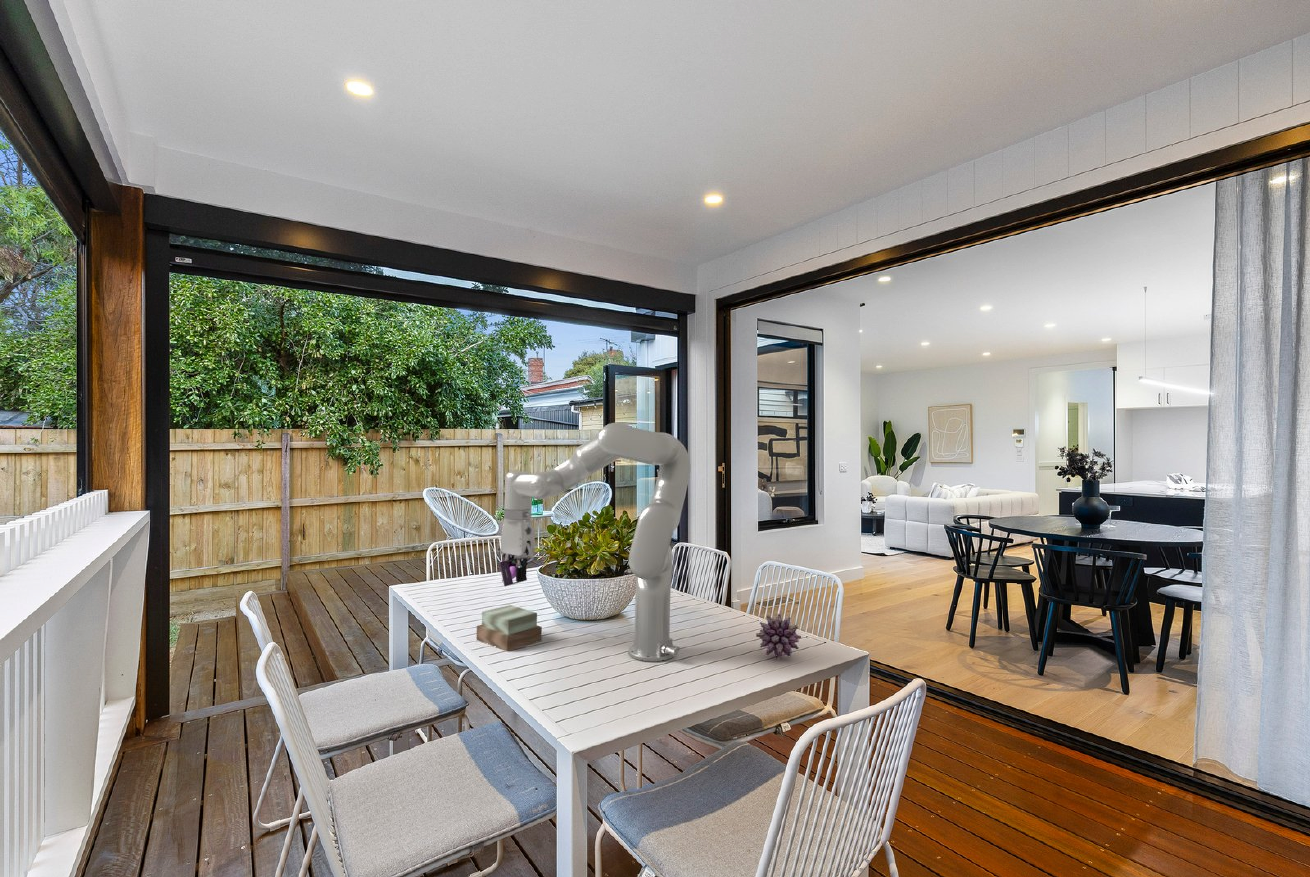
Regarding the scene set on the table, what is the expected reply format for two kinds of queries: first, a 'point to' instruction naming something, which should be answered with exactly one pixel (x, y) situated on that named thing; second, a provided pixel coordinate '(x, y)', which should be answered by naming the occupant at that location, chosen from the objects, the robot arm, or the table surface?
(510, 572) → the purple product box
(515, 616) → the tower stack
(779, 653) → the purple spiky ball
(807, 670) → the table surface
